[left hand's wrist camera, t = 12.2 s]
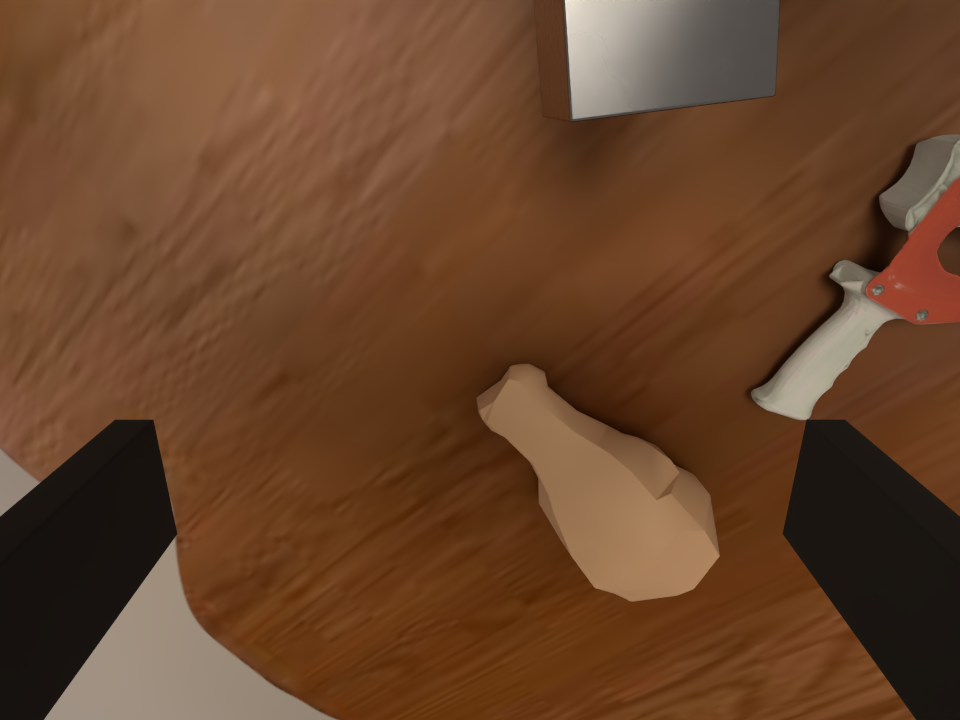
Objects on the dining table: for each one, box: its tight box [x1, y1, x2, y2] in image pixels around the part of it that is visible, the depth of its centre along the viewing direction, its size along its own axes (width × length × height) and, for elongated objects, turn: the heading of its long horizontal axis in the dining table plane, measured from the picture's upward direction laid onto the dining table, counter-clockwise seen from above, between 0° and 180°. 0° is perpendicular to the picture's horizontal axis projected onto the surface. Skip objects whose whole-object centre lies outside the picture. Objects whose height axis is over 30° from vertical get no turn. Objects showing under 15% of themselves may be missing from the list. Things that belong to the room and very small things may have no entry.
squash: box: [476, 363, 720, 602], centre depth 44 cm, size 11×20×9 cm, turn 48°
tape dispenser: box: [751, 134, 960, 420], centre depth 41 cm, size 18×5×20 cm
